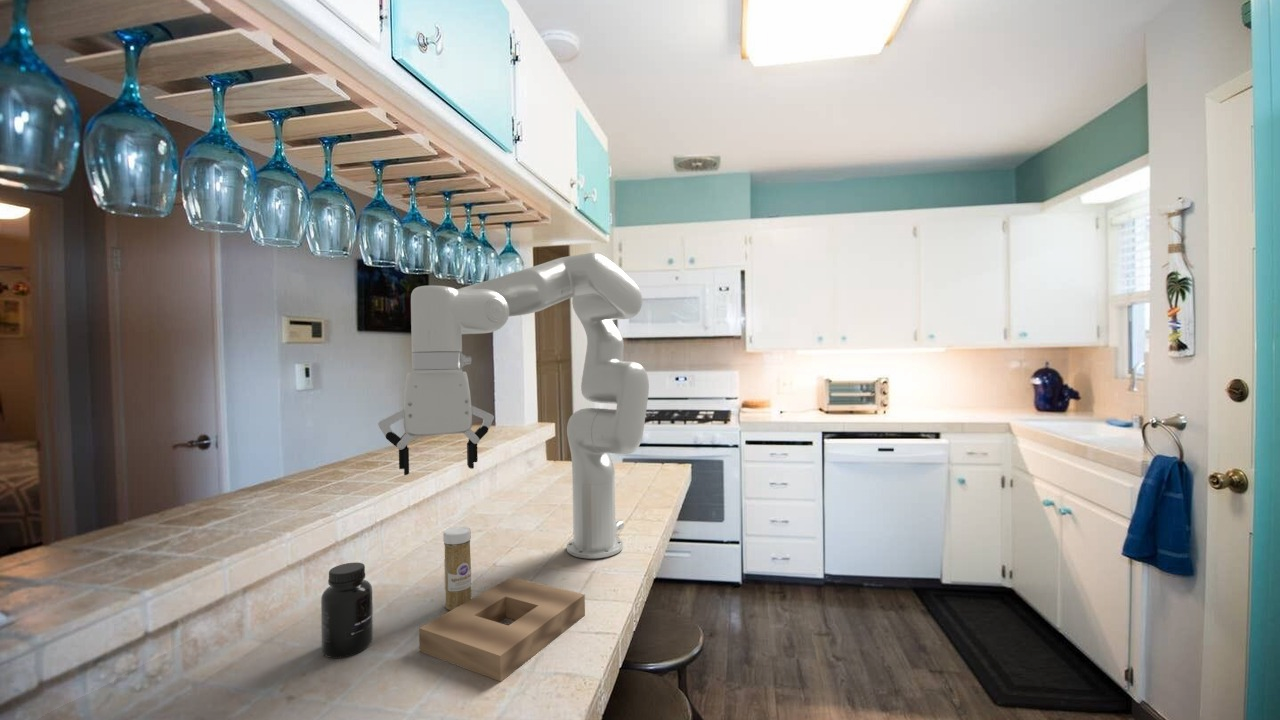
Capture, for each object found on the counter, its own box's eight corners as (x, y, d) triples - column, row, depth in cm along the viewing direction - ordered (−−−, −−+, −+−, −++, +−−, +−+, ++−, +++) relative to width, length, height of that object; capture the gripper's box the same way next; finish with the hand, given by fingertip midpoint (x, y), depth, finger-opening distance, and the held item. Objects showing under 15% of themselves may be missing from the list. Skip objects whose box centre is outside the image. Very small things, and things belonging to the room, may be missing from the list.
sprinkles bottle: (457, 614, 89) (455, 535, 89) (439, 608, 91) (437, 531, 91) (477, 602, 93) (476, 527, 93) (459, 597, 95) (458, 523, 95)
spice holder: (512, 595, 96) (511, 576, 96) (585, 615, 88) (584, 594, 88) (419, 651, 78) (419, 628, 78) (500, 681, 70) (500, 655, 70)
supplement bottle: (368, 655, 77) (366, 574, 77) (315, 663, 75) (313, 580, 75) (377, 631, 84) (375, 557, 84) (329, 638, 82) (327, 562, 82)
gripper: (489, 362, 91) (491, 460, 91) (378, 364, 84) (380, 471, 84) (496, 362, 84) (498, 469, 84) (375, 365, 77) (378, 481, 77)
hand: (439, 470), depth 84 cm, fingers open, 9 cm apart
